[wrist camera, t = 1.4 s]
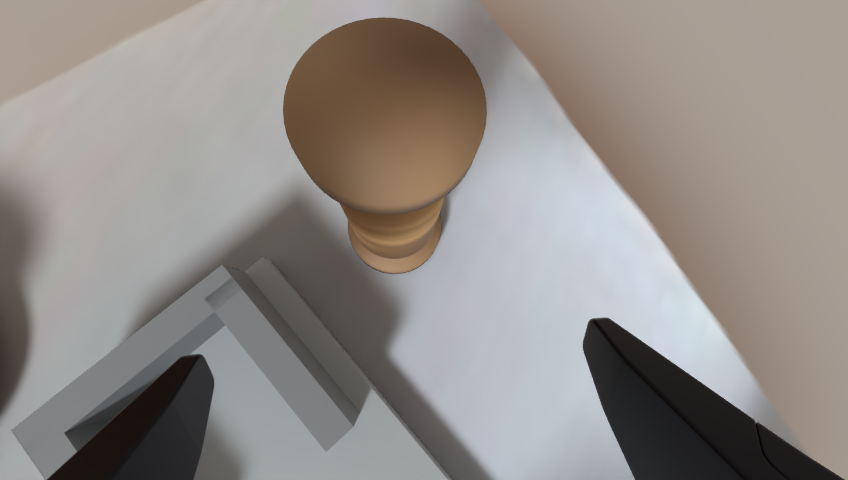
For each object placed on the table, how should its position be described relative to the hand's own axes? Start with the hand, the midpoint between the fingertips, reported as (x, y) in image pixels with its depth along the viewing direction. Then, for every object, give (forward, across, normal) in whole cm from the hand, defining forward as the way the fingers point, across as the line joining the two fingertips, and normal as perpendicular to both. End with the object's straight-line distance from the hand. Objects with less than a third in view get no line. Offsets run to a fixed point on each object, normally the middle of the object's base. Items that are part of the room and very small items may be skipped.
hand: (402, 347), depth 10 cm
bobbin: (+12, 0, +5) cm, 13 cm away
